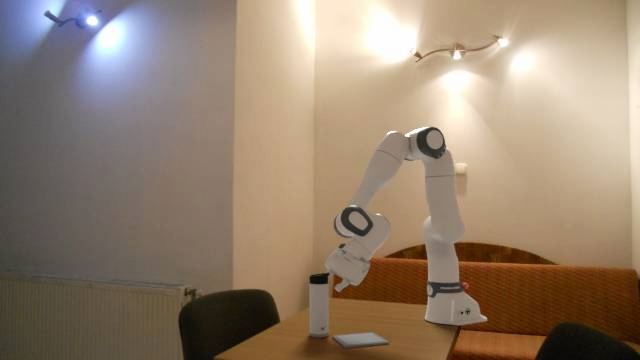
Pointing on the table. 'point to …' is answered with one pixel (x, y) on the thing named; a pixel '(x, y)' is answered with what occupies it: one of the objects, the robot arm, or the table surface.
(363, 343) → the felt pad
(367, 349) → the table surface
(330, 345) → the table surface
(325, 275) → the travel mug
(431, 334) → the table surface
